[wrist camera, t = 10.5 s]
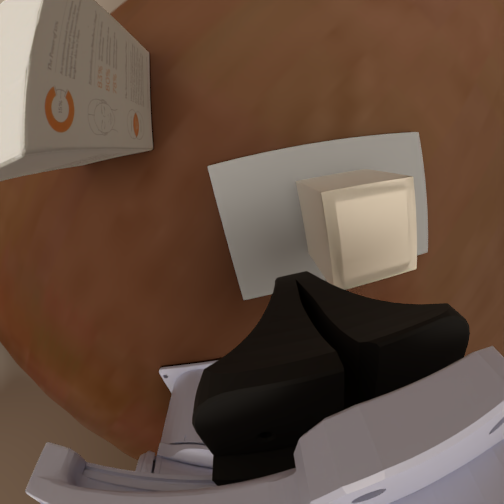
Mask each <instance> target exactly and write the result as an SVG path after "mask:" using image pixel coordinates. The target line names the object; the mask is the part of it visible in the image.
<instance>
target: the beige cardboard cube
mask: <svg viewBox="0 0 504 504" xmlns="http://www.w3.org/2000/svg"><path fill="white" fill-rule="evenodd" d="M296 185H297V190H298V196H299V201H300V206H301V212H302V217H303V223H304V229H305V234H306V240H307V247H308V253H309V255H310V256H311V258H312V259H313V261H314V262H315V264H316V265H317V267H318V268H319V270H320V271H321V273H322V274H323V276H324V277H325V279H326V280H327V282H328V283H330V284H332V285H334V286H337V287H339V288H341V289H344V290H346V289H350V288H353V287H357V286H361V285H364V284H368V283H371V282H375V281H378V280H382V279H385V278H388V277H392V276H395V275H398V274H402V273H405V272H408V271H411V270H414V269H417V222H416V202H415V189H414V179H413V176H407V175H401V174H396V173H390V172H383V171H377V170H370V169H362V170H355V171H349V172H343V173H337V174H331V175H326V176H320V177H315V178H309V179H304V180H299V181H296Z"/></svg>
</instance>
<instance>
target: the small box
mask: <svg viewBox="0 0 504 504" xmlns="http://www.w3.org/2000/svg"><path fill="white" fill-rule="evenodd" d="M152 149H153V139H152V123H151V104H150V65H149V52H148V51H147V50H146V49H145V48H144V47H143V46H142V45H141V44H140V43H139V42H138V41H137V40H136V39H135V38H134V37H133V36H132V35H131V34H130V33H129V32H128V31H127V30H126V29H124V28H123V27H122V26H121V25H120V24H119V23H118V22H117V21H116V20H115V19H114V18H113V17H112V16H111V15H110V14H109V13H108V12H107V11H106V10H105V9H103V8H102V7H101V6H100V5H99V4H98V3H97V2H96V1H95V0H5V1H3V2H2V3H1V4H0V181H3V180H7V179H11V178H15V177H20V176H25V175H30V174H35V173H40V172H45V171H51V170H57V169H63V168H69V167H75V166H82V165H86V164H90V163H94V162H98V161H102V160H107V159H111V158H115V157H120V156H125V155H130V154H135V153H140V152H145V151H150V150H152Z"/></svg>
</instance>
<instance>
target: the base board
mask: <svg viewBox="0 0 504 504" xmlns="http://www.w3.org/2000/svg"><path fill="white" fill-rule="evenodd" d="M207 167H208V171H209V175H210V179H211V182H212V186H213V190H214V194H215V198H216V202H217V205H218V209H219V213H220V217H221V221H222V224H223V228H224V232H225V235H226V239H227V243H228V246H229V250H230V254H231V257H232V261H233V265H234V268H235V272H236V275H237V279H238V283H239V286H240V290H241V293H242V297H243V300H247V299H252V298H256V297H261V296H265V295H270V294H273V290H274V286H275V280H276V278H277V277H282V276H286V275H291V274H295V273H300V272H304V271H308V272H310V273H312V274H313V275H315V276H317V277H319V278H321V279H323V280H324V281H327V280H326V279H325V277H324V276H323V274H322V273H321V271H320V270H319V268H318V267H317V265H316V264H315V262H314V261H313V259H312V258H311V256H310V255H309V253H308V247H307V240H306V234H305V229H304V223H303V217H302V212H301V206H300V201H299V196H298V190H297V185H296V181H299V180H304V179H309V178H315V177H320V176H326V175H331V174H337V173H343V172H349V171H355V170H362V169H370V170H377V171H383V172H390V173H396V174H401V175H407V176H413V179H414V189H415V202H416V222H417V255H420V254H423V253H426V252H428V216H427V197H426V185H425V175H424V166H423V158H422V151H421V144H420V138H419V133H418V132H408V133H394V134H382V135H372V136H363V137H354V138H346V139H339V140H332V141H325V142H318V143H312V144H306V145H301V146H295V147H290V148H284V149H279V150H274V151H269V152H265V153H260V154H255V155H251V156H246V157H242V158H238V159H234V160H230V161H226V162H222V163H218V164H214V165H210V166H207Z"/></svg>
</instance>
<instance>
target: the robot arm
mask: <svg viewBox="0 0 504 504" xmlns="http://www.w3.org/2000/svg"><path fill="white" fill-rule="evenodd" d="M469 334H470V332H469V325H468V323H467V321H466V319H465V318H464V317H463V316H461V315H460V314H459V313H458V312H457V311H456V310H455V309H453V308H452V307H451V306H450V305H449V304H447V303H445V304H423V305H418V304H401V303H392V302H386V301H380V300H375V299H371V298H367V297H364V296H360V295H357V294H354V293H351V292H349V291H346V290H344V289H341V288H339V287H337V286H334V285H332V284H330V283H328V282H326V281H324V280H323V279H321V278H319V277H317V276H315V275H313V274H312V273H310V272H308V271H304V272H300V273H295V274H291V275H286V276H282V277H277V278H276V280H275V286H274V290H273V294H272V296H271V299H270V302H269V304H268V306H267V308H266V310H265V312H264V314H263V316H262V318H261V319H260V321H259V322H258V324H257V325H256V327H255V328H254V329H253V331H252V332H251V333H250V334H249V335H248V336H247V337H246V338H245V340H243V341H242V342H241V343H240V344H239V345H238V346H237V347H236V348H234V349H233V350H232V351H231V352H230V353H228V354H227V355H225V356H224V357H223V358H221V359H219V360H215V361H208V362H201V363H194V364H186V365H178V366H169V367H161V368H160V370H159V374H160V375H161V377H162V379H163V380H164V382H165V384H166V385H167V387H168V388H169V390H170V392H171V393H172V395H171V399H170V403H169V408H168V412H167V416H166V420H165V425H164V429H163V434H162V438H161V443H160V444H159V448H158V452H157V456H155V453H154V452H151V451H147V453H144V454H142V455H140V457H139V460H138V464H137V467H136V471H130V470H123V469H117V468H112V467H107V466H102V465H97V464H92V463H88V462H86V461H85V460H84V459H83V458H82V457H81V456H80V455H79V454H78V453H76V452H75V451H73V450H72V449H69V448H67V447H64V446H61V445H57V444H54V443H51V442H47V443H46V445H45V447H44V449H43V451H42V453H41V455H40V458H39V460H38V462H37V464H36V466H35V469H34V471H33V473H32V476H31V478H30V480H29V483H28V485H27V488H26V490H25V491H26V493H27V494H28V495H29V496H31V497H32V498H34V499H35V500H37V501H38V502H40V503H41V504H504V357H503V356H502V355H501V354H500V353H499V352H498V351H497V350H496V349H495V348H494V347H493V346H491V347H487V348H484V349H481V350H478V351H475V352H472V353H470V354H469V355H467V356H465V357H464V355H465V352H466V348H467V345H468V340H469ZM166 375H167V376H166Z"/></svg>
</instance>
